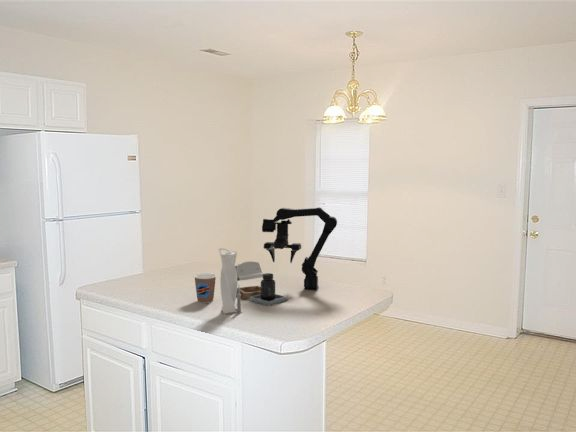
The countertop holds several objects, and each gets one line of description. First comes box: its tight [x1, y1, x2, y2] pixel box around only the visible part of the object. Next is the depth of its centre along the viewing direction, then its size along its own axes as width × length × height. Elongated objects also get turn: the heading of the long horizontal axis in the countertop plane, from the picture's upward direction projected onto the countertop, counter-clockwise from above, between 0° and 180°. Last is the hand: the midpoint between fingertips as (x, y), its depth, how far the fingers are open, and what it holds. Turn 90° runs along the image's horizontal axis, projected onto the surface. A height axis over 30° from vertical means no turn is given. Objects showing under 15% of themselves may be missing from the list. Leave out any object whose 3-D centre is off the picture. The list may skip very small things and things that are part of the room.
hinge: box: [235, 261, 264, 281], centre depth 288 cm, size 17×5×10 cm, turn 127°
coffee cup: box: [193, 273, 217, 304], centre depth 236 cm, size 10×10×12 cm
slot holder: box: [237, 285, 261, 301], centre depth 247 cm, size 12×12×3 cm
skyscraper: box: [218, 247, 243, 316], centre depth 218 cm, size 8×8×28 cm
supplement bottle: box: [260, 272, 276, 301], centre depth 236 cm, size 7×7×12 cm
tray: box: [249, 293, 288, 307], centre depth 237 cm, size 12×12×2 cm
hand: (282, 262), depth 263 cm, fingers open, 9 cm apart
